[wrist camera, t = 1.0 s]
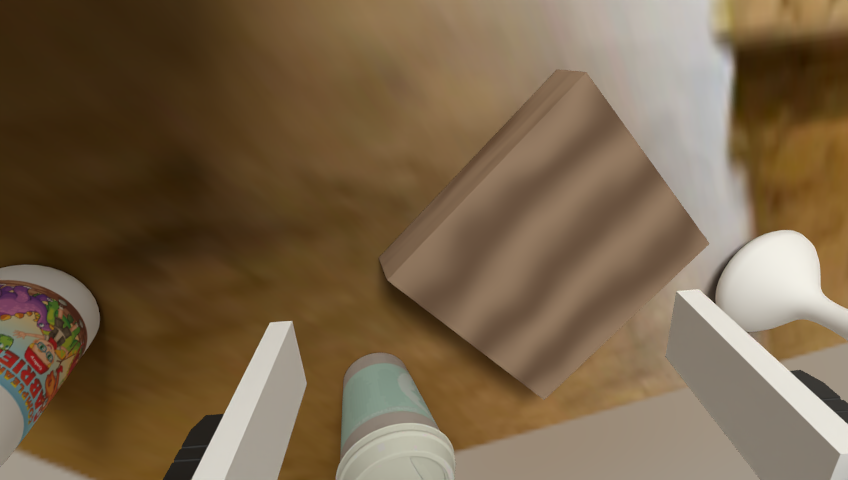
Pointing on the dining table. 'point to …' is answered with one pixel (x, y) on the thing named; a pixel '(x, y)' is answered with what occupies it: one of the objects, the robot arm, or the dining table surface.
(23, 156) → the dining table surface
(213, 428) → the robot arm
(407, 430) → the coffee cup
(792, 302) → the flower in vase
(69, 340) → the milk bottle
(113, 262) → the dining table surface
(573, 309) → the walnut base
